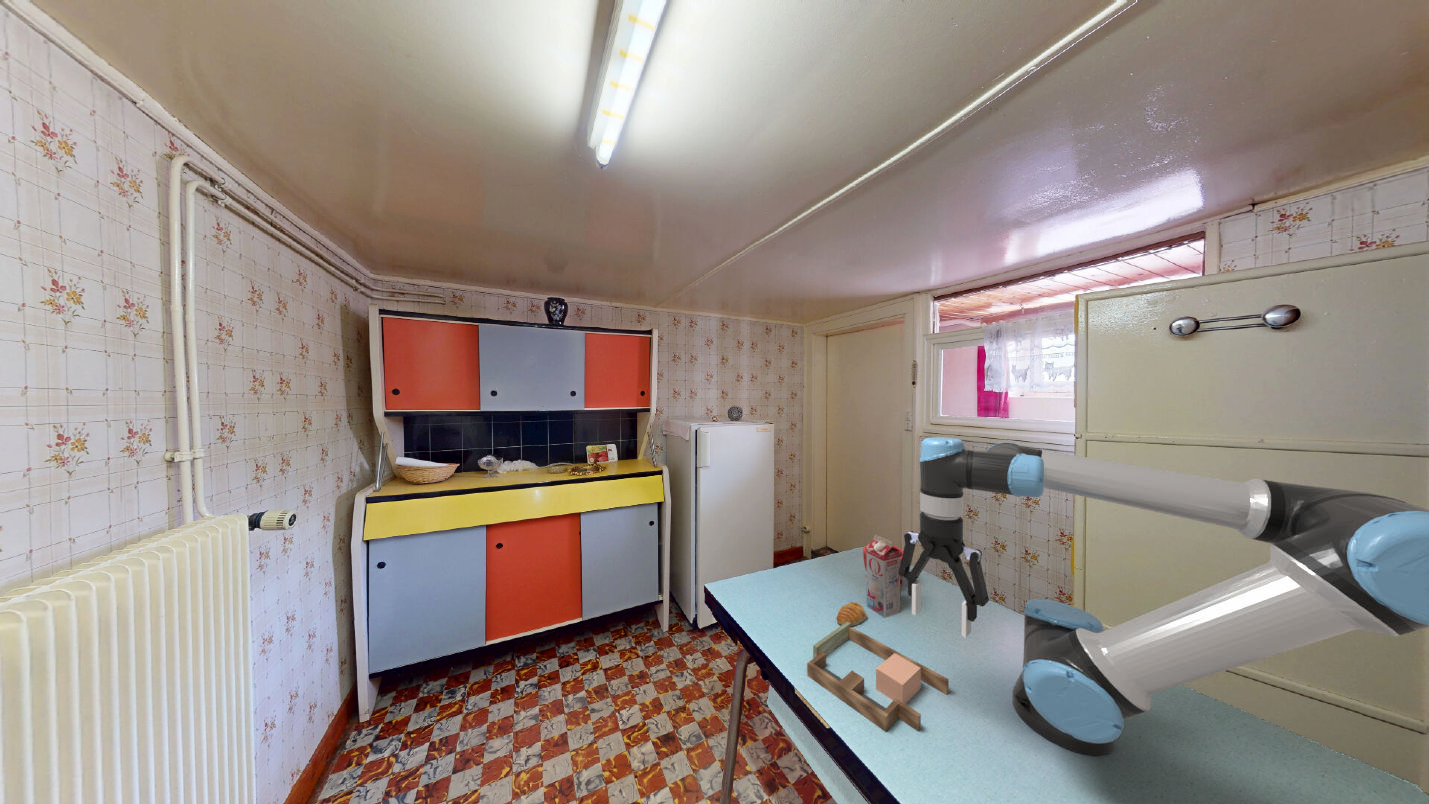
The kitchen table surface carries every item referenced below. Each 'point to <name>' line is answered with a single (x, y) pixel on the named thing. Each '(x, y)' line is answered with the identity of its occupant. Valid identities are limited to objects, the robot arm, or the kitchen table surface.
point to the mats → (860, 694)
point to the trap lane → (854, 683)
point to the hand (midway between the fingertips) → (940, 622)
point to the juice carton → (883, 577)
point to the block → (898, 678)
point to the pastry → (851, 614)
